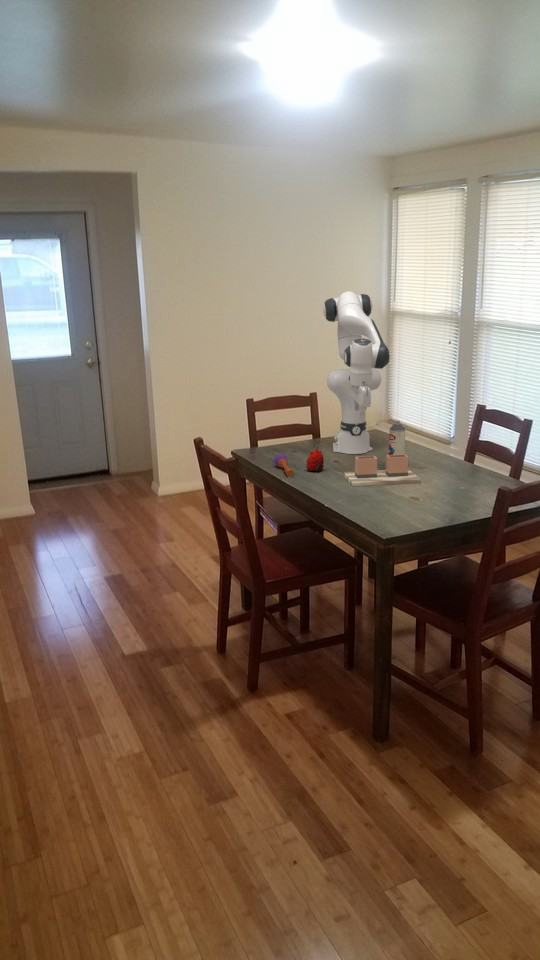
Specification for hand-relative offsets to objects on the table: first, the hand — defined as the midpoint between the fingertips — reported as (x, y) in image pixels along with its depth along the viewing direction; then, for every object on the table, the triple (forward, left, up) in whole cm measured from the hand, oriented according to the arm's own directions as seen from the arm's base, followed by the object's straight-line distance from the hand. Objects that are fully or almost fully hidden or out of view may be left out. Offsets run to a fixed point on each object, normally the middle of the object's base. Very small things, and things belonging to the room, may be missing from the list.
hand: (359, 413), depth 304 cm
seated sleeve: (+9, +14, -25) cm, 30 cm away
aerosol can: (-10, +19, -26) cm, 34 cm away
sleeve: (+9, +1, -25) cm, 26 cm away
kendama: (-11, -30, -27) cm, 41 cm away
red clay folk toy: (-9, -17, -26) cm, 32 cm away
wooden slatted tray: (+9, +7, -26) cm, 29 cm away
